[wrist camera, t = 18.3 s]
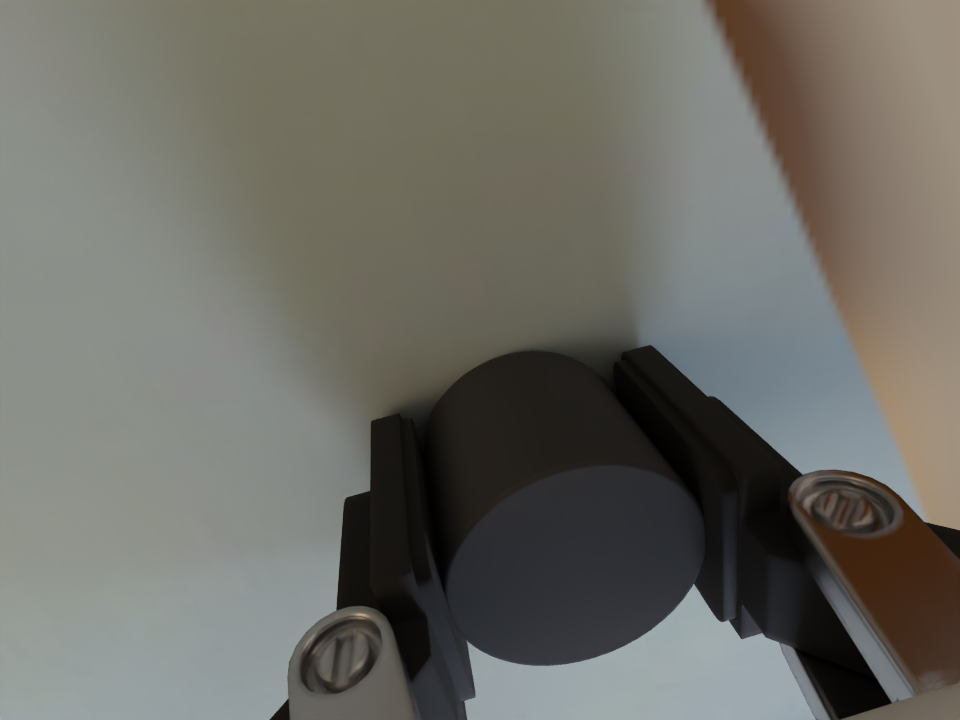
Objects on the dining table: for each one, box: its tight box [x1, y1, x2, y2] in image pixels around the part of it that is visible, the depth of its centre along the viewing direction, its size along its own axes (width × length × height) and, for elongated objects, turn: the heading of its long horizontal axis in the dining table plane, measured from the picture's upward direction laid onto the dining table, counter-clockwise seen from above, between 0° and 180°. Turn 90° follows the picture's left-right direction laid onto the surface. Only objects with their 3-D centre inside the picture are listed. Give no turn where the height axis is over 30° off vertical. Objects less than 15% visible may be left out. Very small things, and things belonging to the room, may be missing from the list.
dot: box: [423, 351, 705, 666], centre depth 10 cm, size 4×4×4 cm
